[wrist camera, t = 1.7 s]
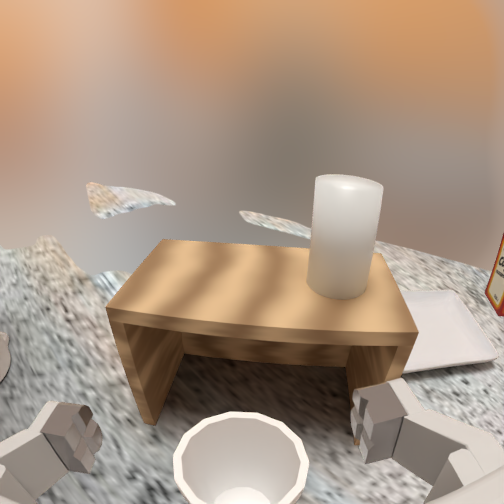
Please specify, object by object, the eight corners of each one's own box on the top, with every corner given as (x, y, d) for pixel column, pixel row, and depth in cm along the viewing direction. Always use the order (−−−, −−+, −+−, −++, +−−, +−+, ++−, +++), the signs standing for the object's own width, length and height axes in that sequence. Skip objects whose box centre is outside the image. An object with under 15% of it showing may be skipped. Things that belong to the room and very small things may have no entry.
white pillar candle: (307, 297, 29) (318, 187, 24) (305, 266, 34) (313, 172, 30) (371, 300, 28) (391, 194, 24) (360, 269, 33) (374, 177, 29)
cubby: (144, 423, 34) (105, 306, 26) (177, 346, 48) (162, 239, 40) (366, 444, 32) (418, 332, 24) (354, 361, 45) (381, 253, 37)
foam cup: (298, 541, 21) (325, 505, 15) (202, 555, 19) (179, 527, 14) (276, 469, 29) (287, 403, 24) (191, 479, 28) (171, 416, 22)
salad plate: (387, 386, 40) (394, 369, 39) (358, 303, 59) (361, 288, 58) (494, 371, 40) (502, 355, 38) (448, 302, 59) (453, 288, 57)
